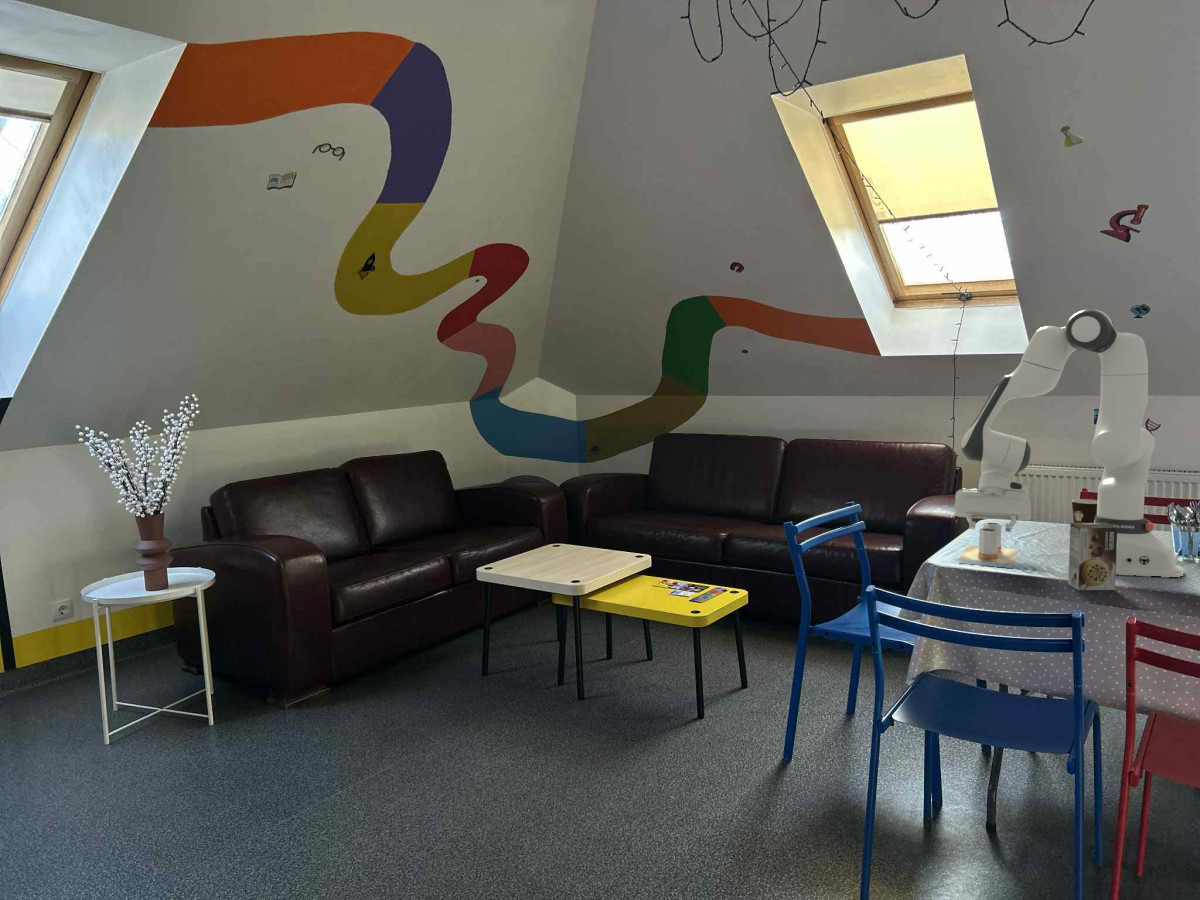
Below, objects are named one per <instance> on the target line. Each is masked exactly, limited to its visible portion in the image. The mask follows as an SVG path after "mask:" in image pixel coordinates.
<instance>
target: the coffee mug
mask: <svg viewBox="0 0 1200 900" xmlns="http://www.w3.org/2000/svg"><path fill="white" fill-rule="evenodd" d="M1097 501H1098V500H1095V499H1085V498H1084V499H1083V498H1080V499H1078V498H1077V499H1072V500H1071V507H1072V519H1073V523H1094V519H1095V515H1097Z"/></svg>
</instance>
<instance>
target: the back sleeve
mask: <svg viewBox="0 0 1200 900" xmlns="http://www.w3.org/2000/svg"><path fill="white" fill-rule="evenodd" d="M983 528H991V529H997V530H998V552H1001V548H1002V523H1000V522H992V521H991V522H990V521H987V522H983Z"/></svg>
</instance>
